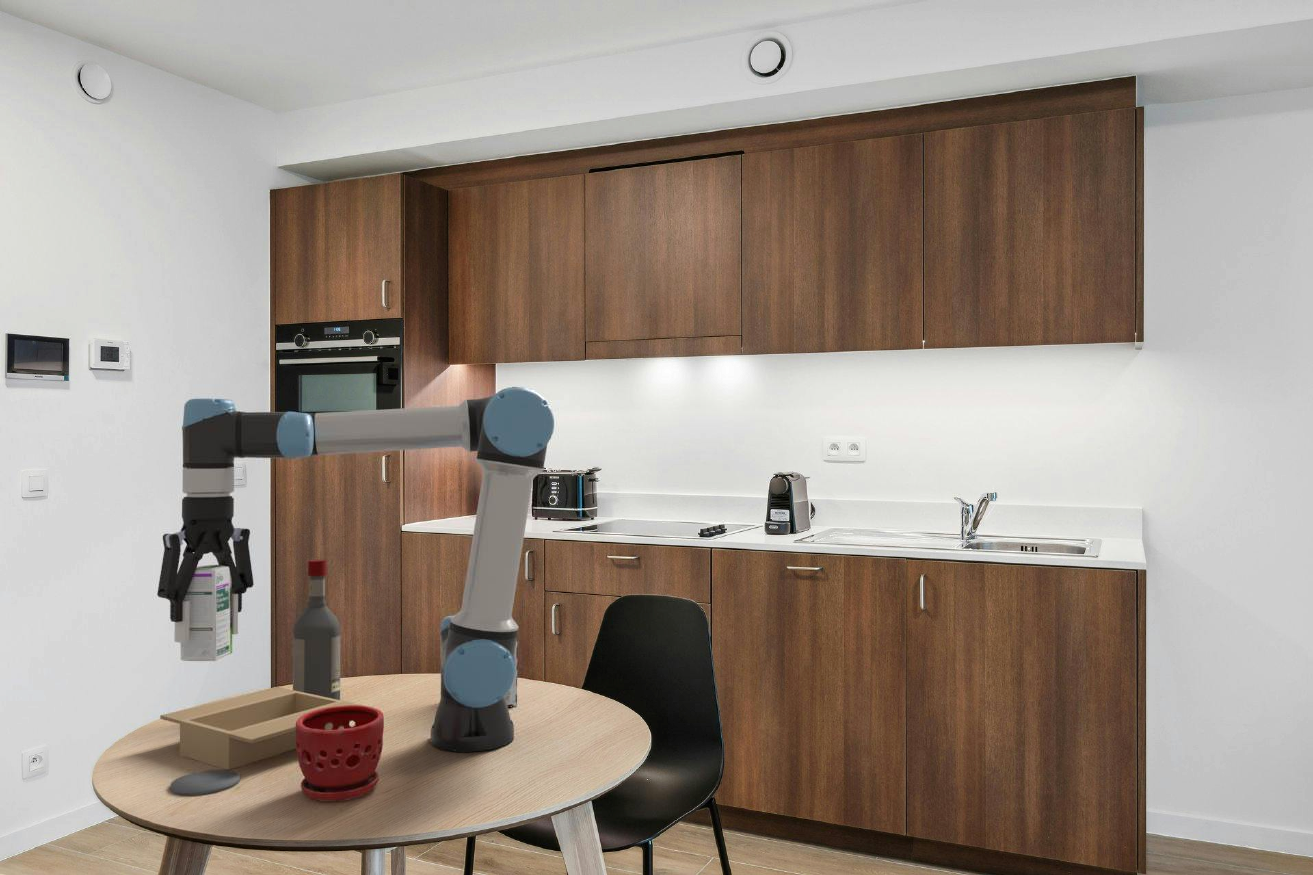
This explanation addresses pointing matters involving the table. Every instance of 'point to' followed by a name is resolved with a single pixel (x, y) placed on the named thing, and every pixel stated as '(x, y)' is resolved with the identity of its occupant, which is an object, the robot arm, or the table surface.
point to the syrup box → (209, 614)
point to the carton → (246, 726)
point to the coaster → (205, 782)
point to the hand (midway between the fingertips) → (206, 637)
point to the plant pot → (339, 751)
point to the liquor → (317, 641)
